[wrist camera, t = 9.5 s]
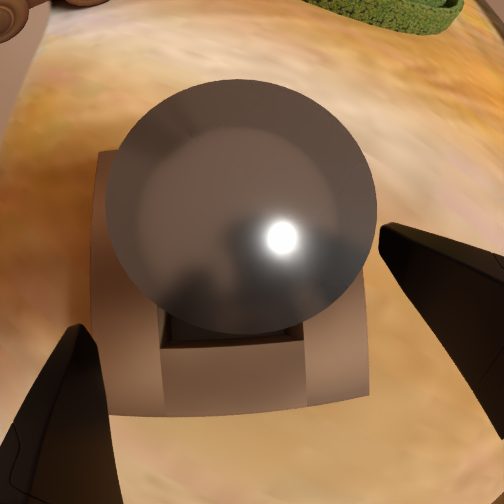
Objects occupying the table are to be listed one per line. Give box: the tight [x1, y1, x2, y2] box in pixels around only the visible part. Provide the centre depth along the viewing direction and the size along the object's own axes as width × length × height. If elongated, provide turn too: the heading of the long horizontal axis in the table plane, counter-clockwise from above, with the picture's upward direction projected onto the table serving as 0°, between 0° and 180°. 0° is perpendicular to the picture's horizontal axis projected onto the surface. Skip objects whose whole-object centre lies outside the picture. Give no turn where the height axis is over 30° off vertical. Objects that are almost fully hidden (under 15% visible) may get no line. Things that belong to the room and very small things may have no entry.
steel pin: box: [105, 79, 377, 334], centre depth 11 cm, size 4×4×13 cm
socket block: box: [90, 150, 369, 417], centre depth 15 cm, size 14×14×4 cm
